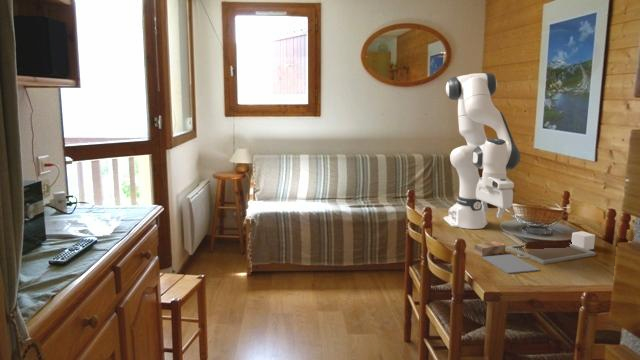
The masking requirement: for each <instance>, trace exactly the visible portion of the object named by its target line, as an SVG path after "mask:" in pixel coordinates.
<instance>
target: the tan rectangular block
mask: <svg viewBox="0 0 640 360" xmlns="http://www.w3.org/2000/svg"><path fill="white" fill-rule="evenodd" d="M473 246H474V247H473V249H474V250H473V252H474V254H476V255H479V256H481V257H485V256H493V255H492V254H495V255H500V254H499V253H502V254H505V253H506V244H504V243H502V242H499V241H497V240H496V241H491V242H483V243H476V244H474V245H473Z"/></svg>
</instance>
